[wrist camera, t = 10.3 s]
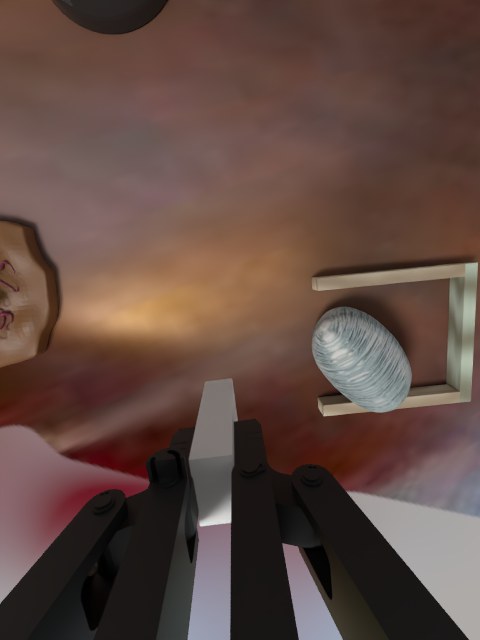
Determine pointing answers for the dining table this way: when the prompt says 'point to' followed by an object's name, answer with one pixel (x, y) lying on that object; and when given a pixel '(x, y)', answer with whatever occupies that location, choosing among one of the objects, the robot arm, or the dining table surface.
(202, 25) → the dining table surface
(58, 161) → the dining table surface
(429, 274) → the bay
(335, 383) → the streaked grey egg
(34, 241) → the plant
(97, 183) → the dining table surface
